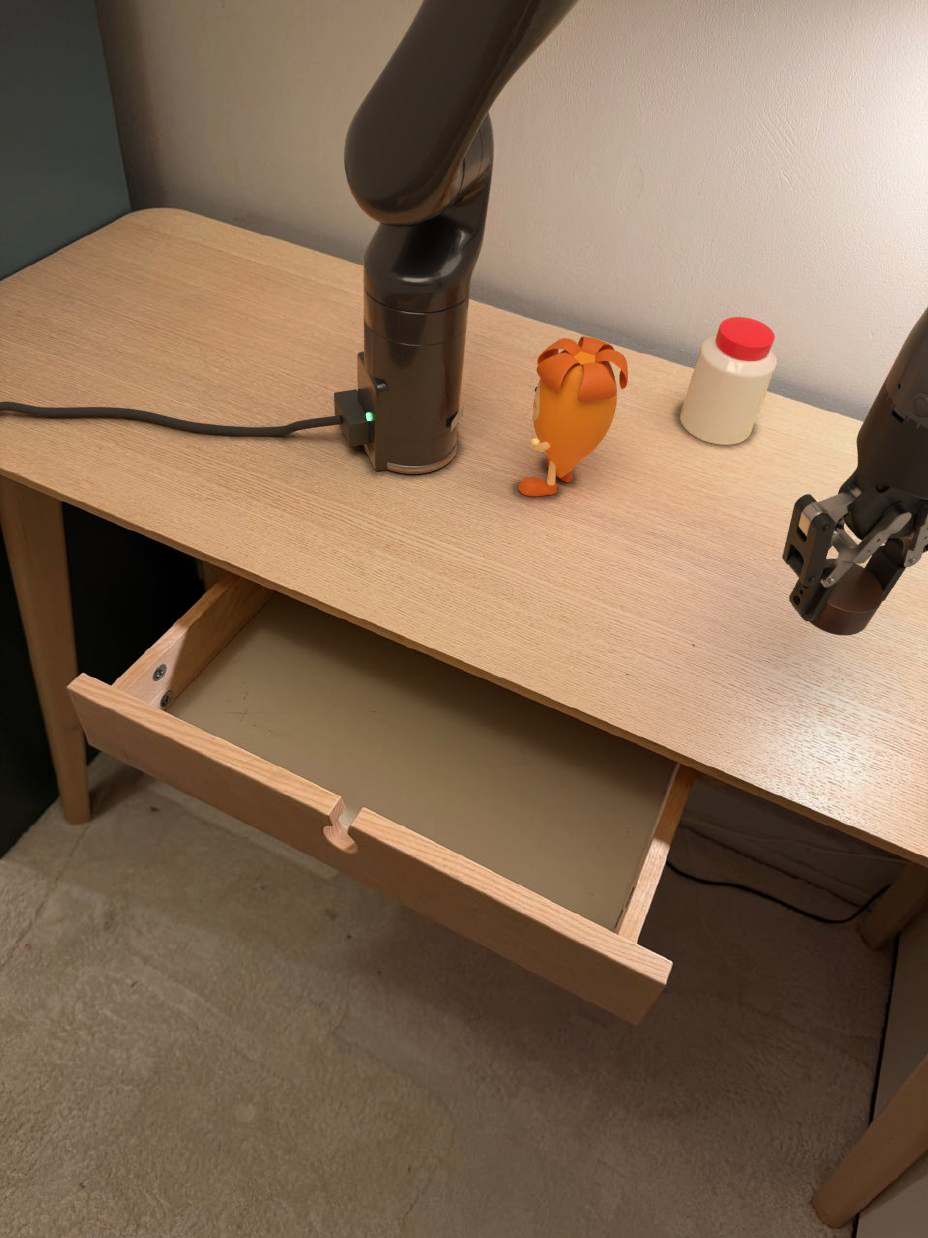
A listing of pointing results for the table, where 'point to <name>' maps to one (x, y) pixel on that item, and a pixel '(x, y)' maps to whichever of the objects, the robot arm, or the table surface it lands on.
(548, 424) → the toy figure
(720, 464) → the table surface
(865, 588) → the brown hockey puck
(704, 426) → the pill bottle
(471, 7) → the robot arm
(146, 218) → the table surface
